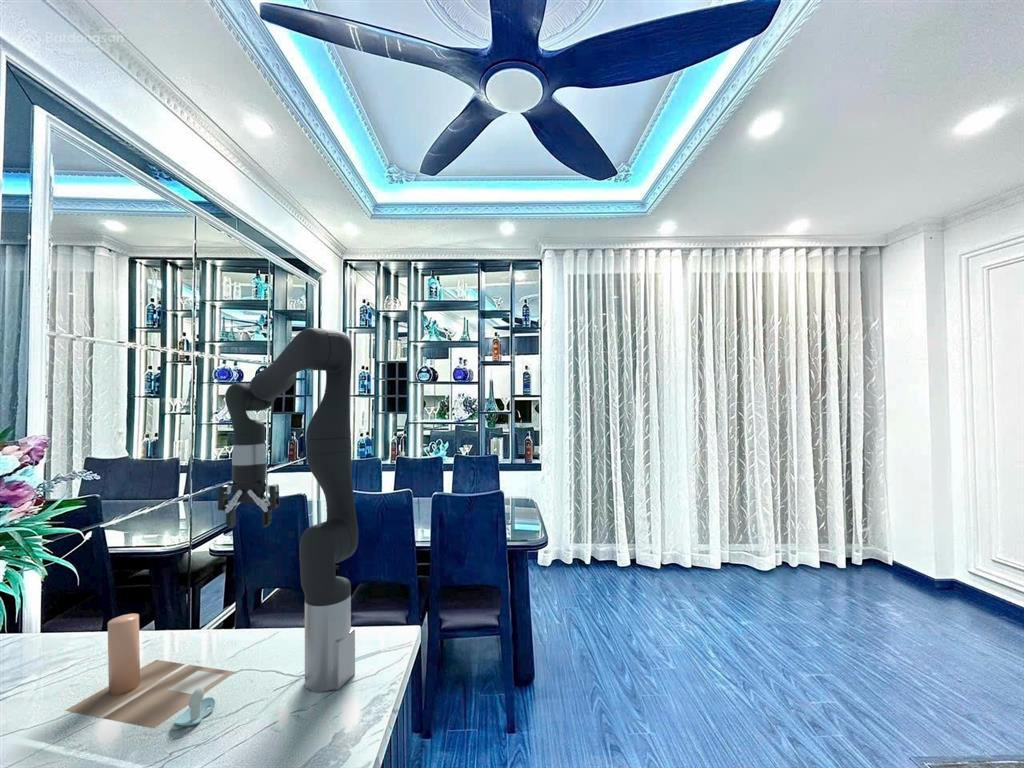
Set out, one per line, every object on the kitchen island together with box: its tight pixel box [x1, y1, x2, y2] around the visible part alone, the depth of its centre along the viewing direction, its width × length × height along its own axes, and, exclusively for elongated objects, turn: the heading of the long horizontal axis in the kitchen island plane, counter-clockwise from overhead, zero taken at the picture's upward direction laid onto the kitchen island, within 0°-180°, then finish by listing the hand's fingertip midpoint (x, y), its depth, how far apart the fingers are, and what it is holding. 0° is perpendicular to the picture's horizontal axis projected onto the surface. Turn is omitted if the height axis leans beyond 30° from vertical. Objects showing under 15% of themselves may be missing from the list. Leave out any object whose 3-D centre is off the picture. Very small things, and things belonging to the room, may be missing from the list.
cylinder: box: [107, 613, 141, 695], centre depth 97 cm, size 5×5×14 cm
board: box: [64, 659, 236, 729], centre depth 95 cm, size 22×18×1 cm
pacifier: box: [169, 687, 216, 730], centre depth 87 cm, size 7×6×6 cm
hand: (249, 526), depth 117 cm, fingers open, 8 cm apart
